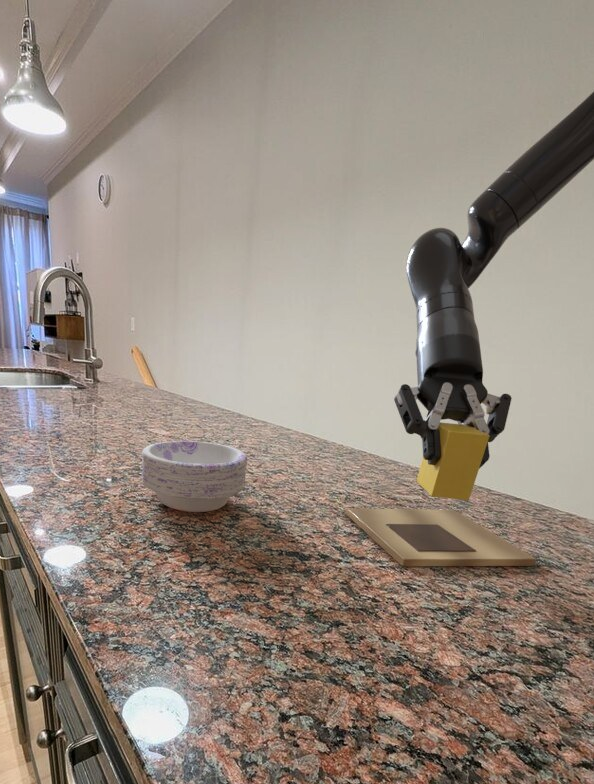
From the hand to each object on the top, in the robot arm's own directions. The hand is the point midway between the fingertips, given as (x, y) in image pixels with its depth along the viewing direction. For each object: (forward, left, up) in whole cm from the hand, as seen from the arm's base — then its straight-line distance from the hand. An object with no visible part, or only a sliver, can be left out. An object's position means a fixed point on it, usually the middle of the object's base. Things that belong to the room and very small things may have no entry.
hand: (456, 463), depth 53 cm
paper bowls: (+30, -16, -12) cm, 35 cm away
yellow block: (0, -2, -4) cm, 4 cm away
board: (-2, -4, -12) cm, 13 cm away
